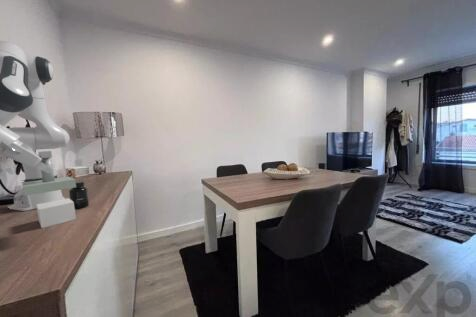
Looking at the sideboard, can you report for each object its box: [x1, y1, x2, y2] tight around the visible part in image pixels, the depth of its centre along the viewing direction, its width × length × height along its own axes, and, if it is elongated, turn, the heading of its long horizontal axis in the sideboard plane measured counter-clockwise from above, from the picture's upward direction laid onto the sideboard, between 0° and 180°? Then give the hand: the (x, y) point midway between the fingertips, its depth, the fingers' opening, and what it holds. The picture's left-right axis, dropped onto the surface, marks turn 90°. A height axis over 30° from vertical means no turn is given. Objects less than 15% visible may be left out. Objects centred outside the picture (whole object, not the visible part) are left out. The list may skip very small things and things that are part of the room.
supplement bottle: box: [68, 181, 90, 210], centre depth 96 cm, size 7×7×12 cm
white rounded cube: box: [36, 197, 77, 229], centre depth 80 cm, size 10×10×7 cm
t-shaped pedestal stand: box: [21, 150, 77, 196], centre depth 68 cm, size 12×12×13 cm
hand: (50, 171), depth 68 cm, fingers closed on t-shaped pedestal stand, 3 cm apart
